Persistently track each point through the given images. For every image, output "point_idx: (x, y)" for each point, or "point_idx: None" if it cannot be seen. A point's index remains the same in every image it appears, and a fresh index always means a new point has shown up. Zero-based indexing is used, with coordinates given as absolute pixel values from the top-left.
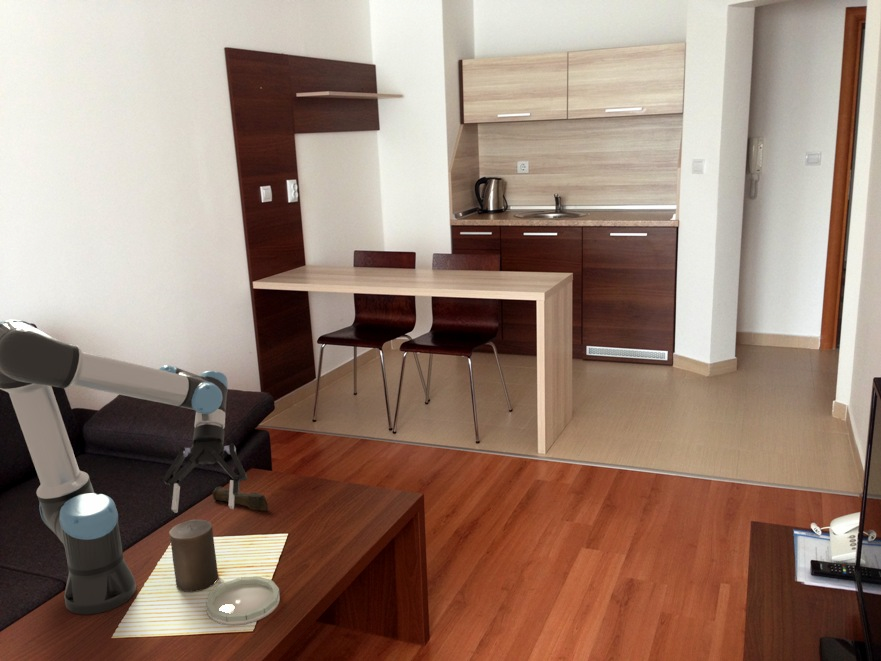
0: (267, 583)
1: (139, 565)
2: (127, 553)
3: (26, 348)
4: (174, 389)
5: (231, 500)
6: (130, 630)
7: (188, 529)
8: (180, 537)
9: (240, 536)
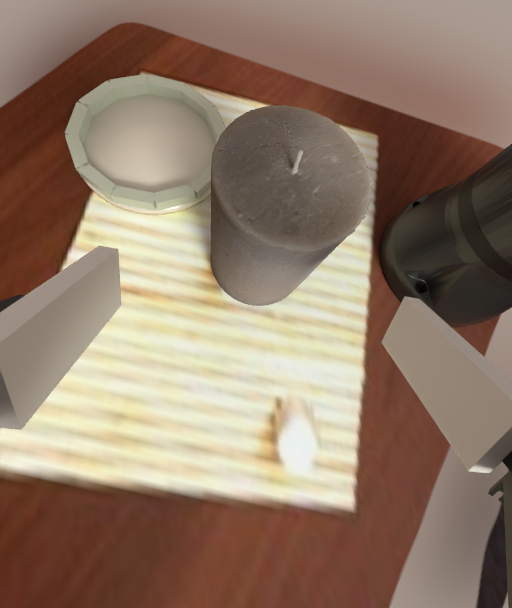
0: (90, 166)
1: None
2: None
3: None
4: None
5: (85, 255)
6: None
7: (303, 165)
8: (322, 119)
9: (150, 478)
